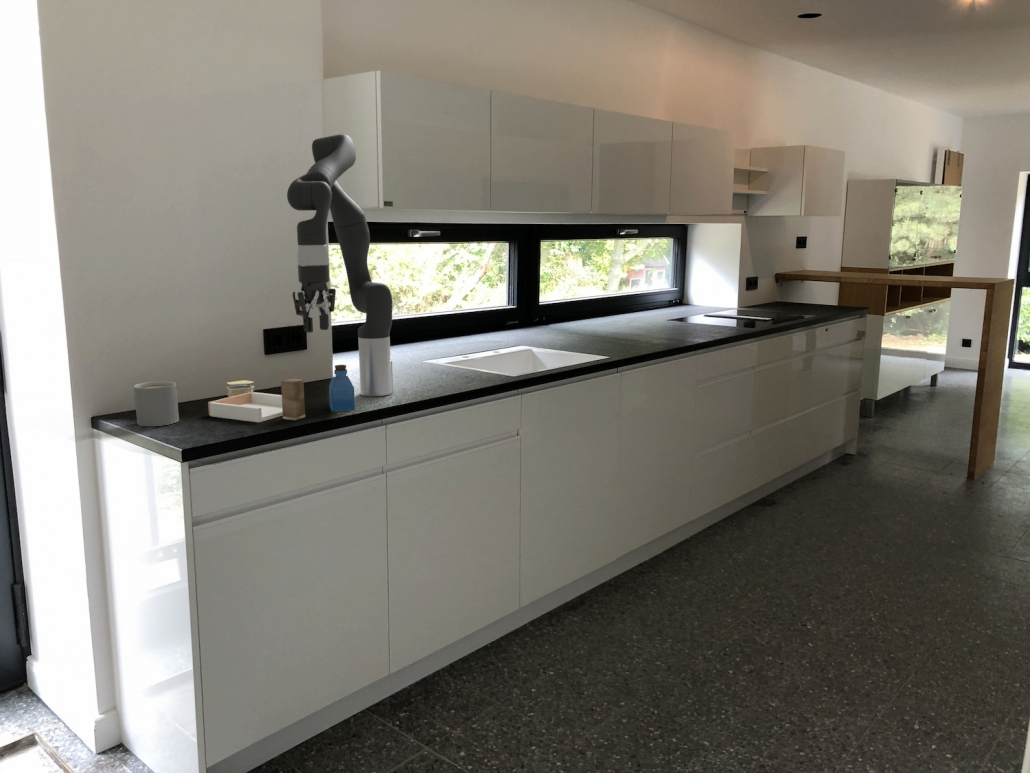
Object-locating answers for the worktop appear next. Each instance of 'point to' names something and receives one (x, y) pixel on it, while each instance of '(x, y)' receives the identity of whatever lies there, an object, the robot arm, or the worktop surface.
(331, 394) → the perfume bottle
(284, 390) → the walnut block
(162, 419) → the coffee mug
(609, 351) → the worktop surface
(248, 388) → the glass food container
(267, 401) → the tray
